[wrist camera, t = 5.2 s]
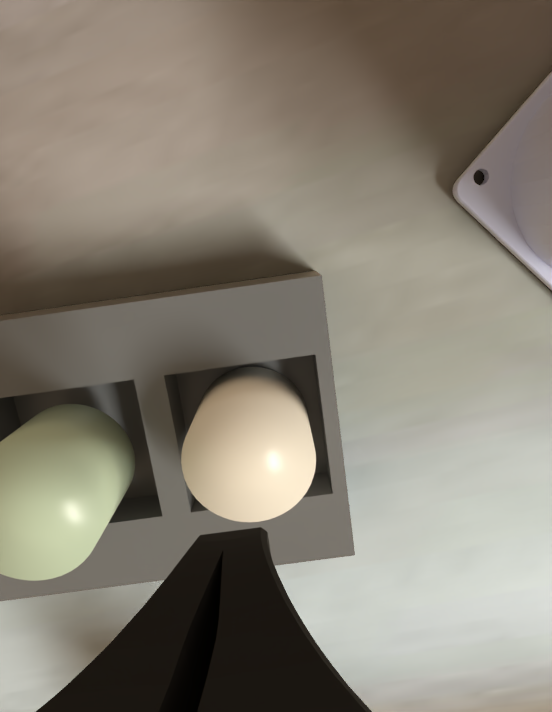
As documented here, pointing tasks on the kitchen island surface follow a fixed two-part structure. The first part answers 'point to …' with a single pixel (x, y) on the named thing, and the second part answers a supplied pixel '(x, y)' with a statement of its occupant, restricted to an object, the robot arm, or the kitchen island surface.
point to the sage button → (60, 489)
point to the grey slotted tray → (178, 411)
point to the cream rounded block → (249, 446)
